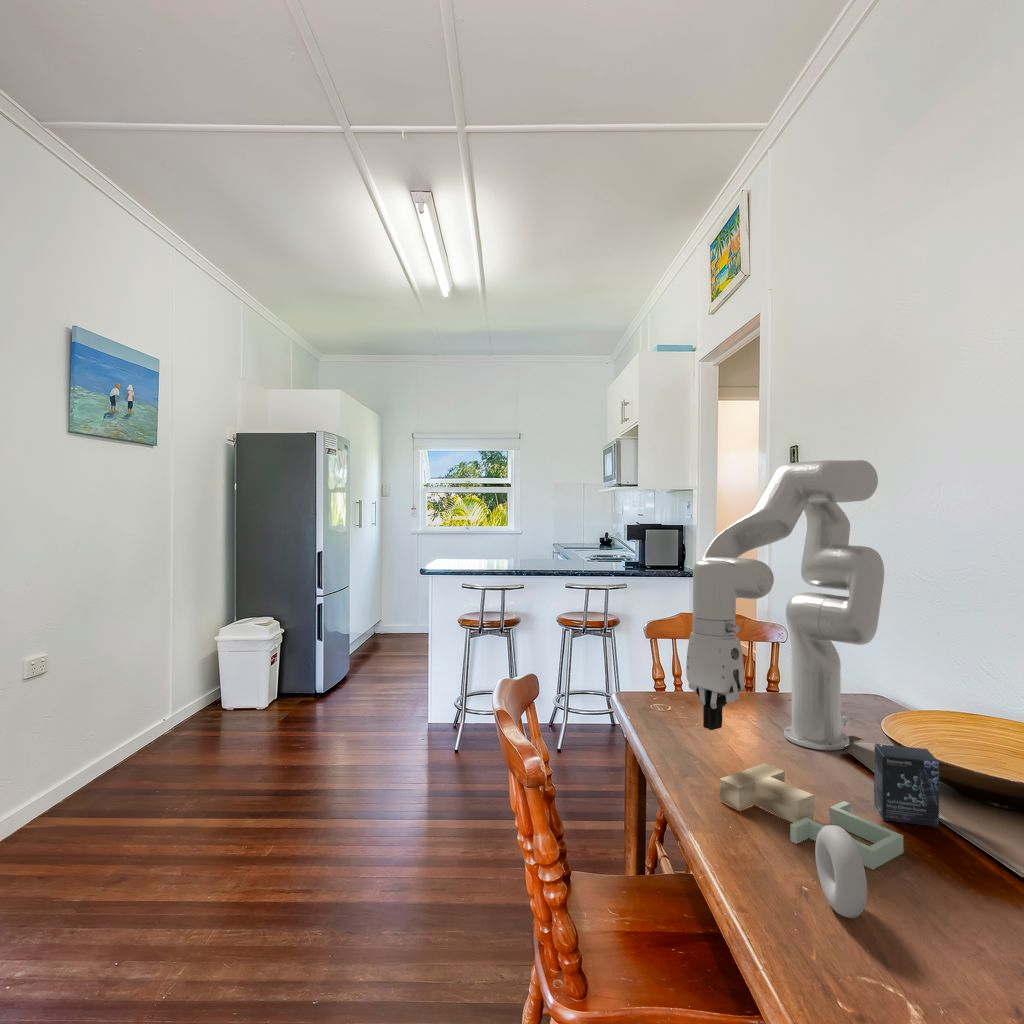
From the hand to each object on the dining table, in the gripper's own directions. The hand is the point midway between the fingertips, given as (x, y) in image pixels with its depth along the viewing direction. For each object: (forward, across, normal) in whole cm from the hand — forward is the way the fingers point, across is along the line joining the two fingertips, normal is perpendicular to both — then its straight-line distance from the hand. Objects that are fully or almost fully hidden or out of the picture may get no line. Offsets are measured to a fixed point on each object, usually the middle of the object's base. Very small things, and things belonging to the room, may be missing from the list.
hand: (712, 727), depth 112 cm
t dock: (+10, -25, -1) cm, 27 cm away
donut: (+11, -33, +15) cm, 38 cm away
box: (+10, -25, -16) cm, 32 cm away
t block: (+10, -12, -1) cm, 16 cm away
